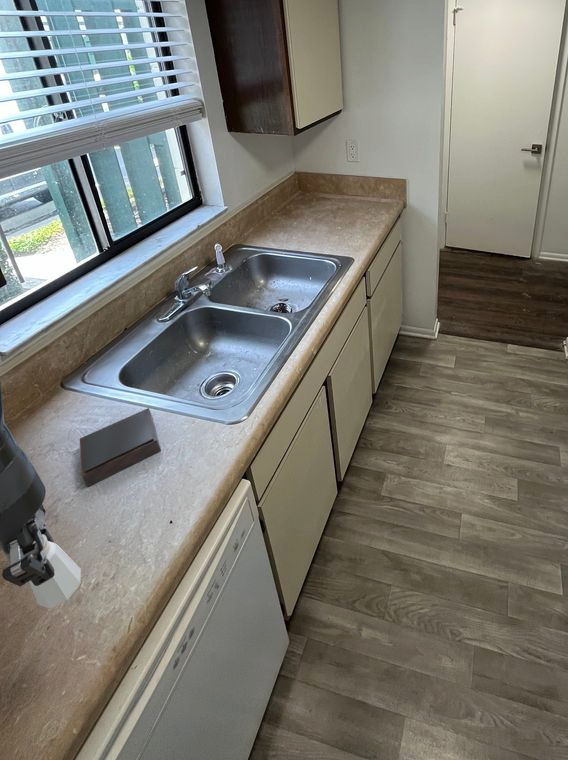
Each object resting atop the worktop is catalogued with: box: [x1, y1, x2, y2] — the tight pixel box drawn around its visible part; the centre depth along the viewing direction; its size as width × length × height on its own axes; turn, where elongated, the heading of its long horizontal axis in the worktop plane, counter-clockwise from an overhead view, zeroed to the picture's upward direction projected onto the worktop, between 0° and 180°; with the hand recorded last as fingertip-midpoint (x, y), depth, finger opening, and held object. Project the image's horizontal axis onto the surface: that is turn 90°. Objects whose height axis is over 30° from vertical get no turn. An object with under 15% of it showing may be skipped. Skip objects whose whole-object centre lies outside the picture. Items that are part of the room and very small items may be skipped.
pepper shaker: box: [28, 534, 82, 610], centre depth 62 cm, size 5×5×11 cm
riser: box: [79, 407, 162, 488], centre depth 98 cm, size 14×11×4 cm
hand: (45, 564), depth 61 cm, fingers closed on pepper shaker, 3 cm apart
